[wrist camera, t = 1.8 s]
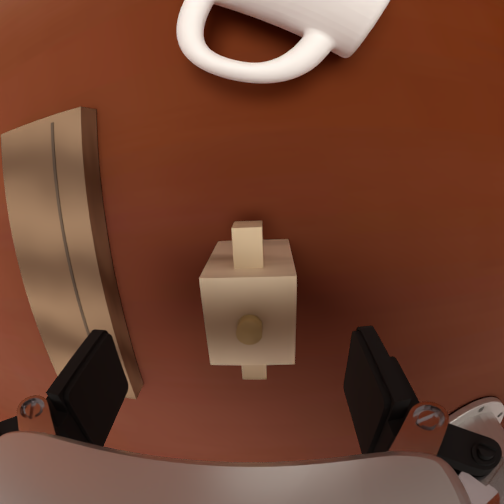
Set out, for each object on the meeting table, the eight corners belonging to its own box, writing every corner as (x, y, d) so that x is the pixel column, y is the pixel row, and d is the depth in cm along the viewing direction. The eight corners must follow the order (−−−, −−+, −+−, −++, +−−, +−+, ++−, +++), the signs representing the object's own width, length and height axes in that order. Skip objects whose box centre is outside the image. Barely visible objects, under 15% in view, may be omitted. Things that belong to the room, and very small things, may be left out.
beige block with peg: (288, 333, 22) (294, 400, 15) (226, 334, 22) (212, 400, 15) (287, 207, 19) (298, 237, 12) (215, 209, 19) (190, 240, 13)
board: (143, 384, 24) (136, 399, 22) (71, 373, 24) (61, 385, 22) (96, 109, 17) (80, 106, 15) (17, 133, 18) (0, 134, 16)
